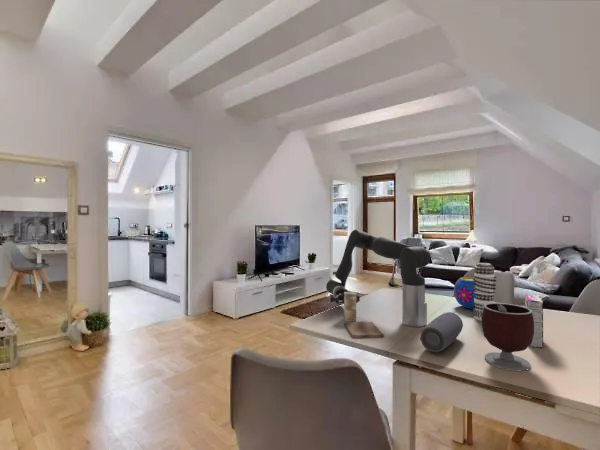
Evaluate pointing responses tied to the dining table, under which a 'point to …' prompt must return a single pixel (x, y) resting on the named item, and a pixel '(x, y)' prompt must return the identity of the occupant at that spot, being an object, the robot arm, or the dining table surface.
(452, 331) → the bluetooth speaker
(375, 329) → the walnut board
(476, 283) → the decorative candle
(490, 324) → the mate gourd
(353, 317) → the beech block
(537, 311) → the candy bar box
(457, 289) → the ceramic pot
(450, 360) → the dining table surface
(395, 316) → the dining table surface
